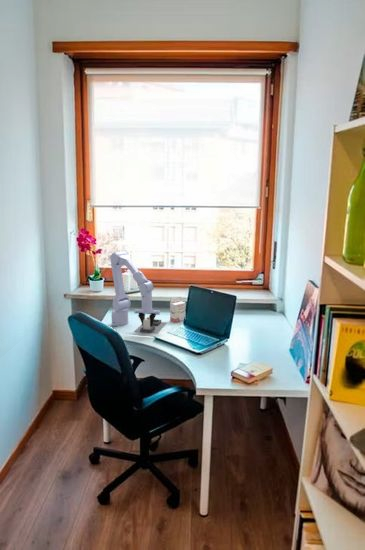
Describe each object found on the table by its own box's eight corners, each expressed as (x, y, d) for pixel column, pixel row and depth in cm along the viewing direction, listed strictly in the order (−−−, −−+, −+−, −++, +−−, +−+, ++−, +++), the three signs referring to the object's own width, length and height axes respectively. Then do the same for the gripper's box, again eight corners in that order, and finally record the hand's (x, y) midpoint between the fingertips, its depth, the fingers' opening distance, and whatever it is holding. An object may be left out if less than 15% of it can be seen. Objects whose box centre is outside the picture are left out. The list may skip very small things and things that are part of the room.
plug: (143, 330, 230) (143, 318, 229) (145, 328, 234) (145, 316, 233) (150, 330, 229) (149, 319, 228) (152, 328, 233) (152, 317, 232)
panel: (133, 333, 229) (133, 329, 229) (145, 322, 248) (145, 318, 248) (157, 335, 226) (157, 330, 226) (167, 323, 245) (167, 319, 245)
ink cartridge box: (175, 323, 245) (174, 300, 242) (170, 321, 249) (169, 298, 246) (186, 320, 250) (185, 297, 247) (180, 318, 254) (180, 295, 251)
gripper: (132, 304, 226) (132, 327, 229) (157, 305, 223) (157, 329, 225) (136, 300, 233) (137, 323, 236) (160, 302, 229) (161, 325, 232)
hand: (147, 326), depth 231 cm, fingers closed on plug, 4 cm apart
